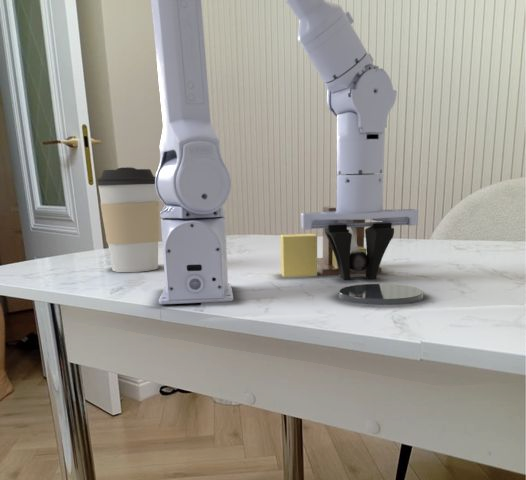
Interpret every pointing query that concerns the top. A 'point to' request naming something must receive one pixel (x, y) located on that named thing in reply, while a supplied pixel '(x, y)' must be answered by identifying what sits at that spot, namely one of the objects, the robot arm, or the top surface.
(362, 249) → the butter block
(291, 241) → the butter portion
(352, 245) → the ball knob lever
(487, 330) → the top surface
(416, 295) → the plate
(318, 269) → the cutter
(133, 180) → the coffee cup
